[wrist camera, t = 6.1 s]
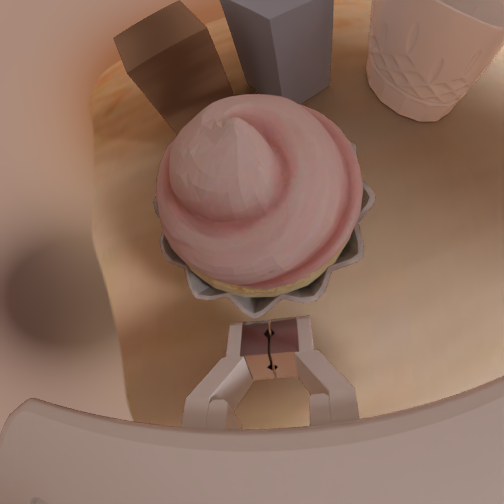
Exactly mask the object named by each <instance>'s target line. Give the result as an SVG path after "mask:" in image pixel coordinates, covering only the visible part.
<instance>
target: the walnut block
mask: <svg viewBox="0 0 504 504" xmlns="http://www.w3.org/2000/svg"><path fill="white" fill-rule="evenodd" d="M114 41H115V44H116V46H117V49H118V52H119V54H120V56H121V59H122V62H123V64H124V67H125V70H126V72H127V74H128V75H129V76H130V77H131V79H132V80H133V81H134V82H135V83H136V85H137V86H138V87H139V88H140V90H141V91H142V92H143V93H144V94H145V96H146V97H147V98H148V99H149V100H150V102H151V103H152V104H153V105H154V107H155V108H156V109H157V110H158V111H159V113H160V114H161V115H162V116H163V118H164V119H165V120H166V121H167V122H168V124H169V125H170V126H171V127H172V129H173V130H174V131H175V132H176V134H177V135H178V134H179V132H180V131H181V130H182V128H183V127H184V126H185V125H187V124H188V123H189V122H190V121H191V120H192V119H193V118H194V117H195V116H196V115H197V114H198V113H200V112H201V111H202V110H203V109H204V108H206V107H207V106H208V105H210V104H212V103H213V102H216V101H218V100H221V99H223V98H227V97H231V96H234V94H233V92H232V89H231V87H230V84H229V81H228V79H227V76H226V74H225V71H224V69H223V66H222V64H221V61H220V59H219V56H218V54H217V51H216V49H215V46H214V44H213V41H212V39H211V36H210V34H209V31H208V29H207V27H206V26H205V25H204V24H203V23H202V22H201V21H200V20H199V19H198V18H197V17H196V16H195V15H194V14H193V13H192V12H191V11H190V10H189V9H188V8H187V7H186V6H185V5H184V4H183V3H182V2H181V1H177V2H175V3H173V4H171V5H169V6H167V7H165V8H163V9H161V10H159V11H158V12H156V13H154V14H152V15H150V16H148V17H147V18H145V19H143V20H142V21H140V22H138V23H136V24H135V25H133V26H131V27H130V28H128V29H126V30H125V31H123V32H122V33H120V34H119V35H117V36H116V37H114Z"/></svg>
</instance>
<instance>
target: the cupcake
mask: <svg viewBox="0 0 504 504" xmlns="http://www.w3.org/2000/svg"><path fill="white" fill-rule="evenodd" d="M375 198H376V197H375V195H374V193H373V191H372V190H371V188H370V187H369V186H368V185H367V184H366V183H365V182H364V181H363V180H362V176H361V170H360V166H359V163H358V160H357V149H356V145H355V144H354V143H352V142H351V141H349V140H348V139H347V137H346V136H345V135H344V133H343V132H342V131H341V129H340V128H339V127H338V126H337V125H336V124H335V123H334V122H332V121H331V120H329V119H328V118H327V117H326V116H324V115H323V114H322V113H320V112H318V111H316V110H313V109H311V108H309V107H306V106H304V105H301V104H297V103H296V102H294V101H292V100H290V99H288V98H285V97H281V96H275V95H267V94H245V95H237V96H231V97H227V98H223V99H221V100H218V101H216V102H213V103H212V104H210V105H208V106H207V107H206V108H204V109H203V110H202V111H201V112H200V113H198V114H197V115H196V116H195V117H194V118H193V119H192V120H191V121H190V122H189V123H188V124H187V125H185V126H184V127H183V128H182V130H181V131H180V132H179V134H178V135H177V137H176V138H175V139H174V140H173V141H172V142H171V143H170V144H169V145H168V147H167V148H166V150H165V153H164V155H163V157H162V159H161V162H160V166H159V171H158V175H157V182H156V197H155V199H154V202H153V203H154V208H155V213H156V214H157V215H158V217H159V218H160V221H161V225H162V229H163V231H162V235H161V239H160V246H161V251H162V254H163V255H164V257H165V258H166V259H167V261H168V262H169V263H172V264H174V265H177V266H179V267H182V268H184V270H185V274H186V278H187V281H188V285H189V288H190V290H191V291H192V293H193V295H194V296H195V298H197V299H204V300H212V299H218V298H225V297H228V298H229V299H230V300H231V301H232V302H233V303H234V304H235V305H236V306H237V307H238V308H239V309H240V310H241V311H242V312H243V313H244V314H245V315H247V316H249V317H251V318H253V319H255V318H258V317H260V316H262V315H264V314H265V313H266V312H267V311H269V310H270V309H271V308H272V307H273V306H275V305H276V304H277V303H278V302H279V301H281V300H282V299H286V300H291V301H295V302H300V303H308V302H313V301H317V299H318V298H319V297H320V296H321V295H322V294H323V293H324V292H325V290H326V287H327V285H328V282H329V279H330V276H331V273H332V271H333V270H336V269H339V268H342V267H345V266H347V265H350V264H353V263H356V262H357V261H359V260H360V259H361V258H363V256H364V245H363V241H362V236H361V232H360V228H359V224H358V223H359V222H360V220H361V219H362V218H363V217H364V215H365V214H366V213H367V212H368V211H369V209H370V208H371V207H372V206H373V203H374V201H375Z"/></svg>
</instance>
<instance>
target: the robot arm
mask: <svg viewBox="0 0 504 504" xmlns="http://www.w3.org/2000/svg"><path fill="white" fill-rule="evenodd" d="M275 373H276V377H277V378H291V377H298V378H299V380H300V381H301V382H302V383H303V385H304V386H305V387H306V389H307V390H308V391H309V393H310V394H311V396H310V397H309V410H310V426H304V427H292V428H276V429H242V424H241V422H240V421H239V419H238V418H237V416H236V415H235V413H234V410H235V409H236V407H237V406H238V404H239V403H240V401H241V400H242V398H243V397H244V395H245V394H246V392H247V391H248V389H249V388H250V386H251V385H252V383H253V382H254V381H253V380H264V379H274V376H275ZM0 504H504V376H502V377H500V378H497V379H495V380H493V381H490V382H488V383H485V384H483V385H480V386H478V387H475V388H473V389H470V390H467V391H464V392H462V393H459V394H456V395H453V396H450V397H447V398H444V399H441V400H437V401H434V402H431V403H427V404H424V405H420V406H417V407H413V408H409V409H405V410H401V411H397V412H392V413H388V414H383V415H378V416H374V417H368V418H363V419H359V412H358V405H357V398H356V392H355V388H354V387H353V386H352V385H351V384H350V382H349V381H348V380H347V379H346V378H345V377H344V376H343V375H342V374H341V373H340V372H339V371H338V370H337V369H336V368H335V367H334V366H333V365H332V364H331V363H330V362H329V361H328V360H327V359H326V358H325V357H324V356H323V355H322V354H321V352H320V351H319V350H314V346H313V337H312V328H311V320H310V315H308V316H299V317H297V318H296V317H289V318H281V319H273V320H271V322H269V320H267V321H252V322H238V323H231V324H230V326H229V333H228V341H227V349H226V357H222V358H221V359H220V360H219V361H218V363H217V364H216V365H215V366H214V367H213V368H212V369H211V371H210V372H209V373H208V374H207V375H206V376H205V377H204V379H203V380H202V381H201V382H200V383H199V384H198V385H197V386H196V388H195V389H194V390H193V391H192V392H191V393H190V394H189V395H188V396H187V398H186V401H185V407H184V412H183V418H182V423H181V427H174V426H164V425H155V424H147V423H140V422H133V421H127V420H121V419H116V418H110V417H105V416H100V415H95V414H91V413H87V412H82V411H78V410H74V409H70V408H67V407H63V406H59V405H56V404H52V403H49V402H46V401H42V400H39V399H36V398H30V399H28V400H26V401H25V402H24V403H22V404H21V405H20V406H19V407H18V408H17V409H15V410H14V411H13V412H12V413H11V414H10V415H9V417H8V419H7V421H6V422H5V425H4V427H3V429H2V431H1V434H0Z"/></svg>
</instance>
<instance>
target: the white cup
mask: <svg viewBox="0 0 504 504" xmlns="http://www.w3.org/2000/svg"><path fill="white" fill-rule="evenodd" d="M503 45H504V1H503V0H372V3H371V15H370V32H369V53H368V60H367V66H366V72H367V78H368V83H369V86H370V87H371V89H372V90H373V91H374V93H375V94H376V96H377V97H378V98H379V100H380V101H381V102H382V103H384V104H385V105H387V106H388V107H389V108H391V109H392V110H394V111H395V112H396V113H398V114H399V115H402V116H405V117H408V118H410V119H413V120H416V121H419V122H426V121H438V120H440V119H441V118H443V117H444V116H446V115H447V114H448V113H449V112H450V111H451V110H452V109H453V107H454V106H455V105H456V104H457V102H458V101H459V100H460V99H461V98H463V97H464V96H465V94H466V93H467V92H468V91H469V90H470V89H471V87H472V86H473V85H474V84H475V83H476V81H477V80H478V79H479V78H480V77H481V75H482V74H483V73H484V71H485V70H486V69H487V67H488V66H489V65H490V63H491V62H492V61H493V59H494V58H495V56H496V55H497V54H498V52H499V51H500V50H501V48H502V47H503Z"/></svg>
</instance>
